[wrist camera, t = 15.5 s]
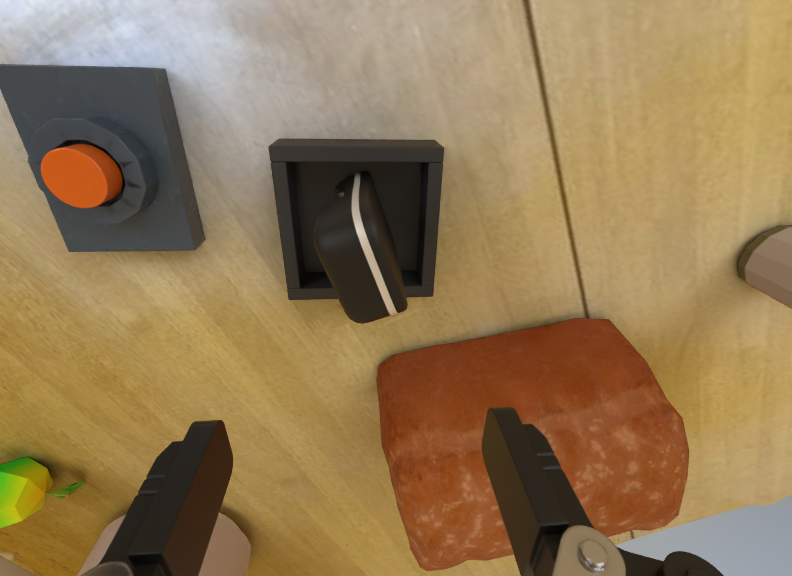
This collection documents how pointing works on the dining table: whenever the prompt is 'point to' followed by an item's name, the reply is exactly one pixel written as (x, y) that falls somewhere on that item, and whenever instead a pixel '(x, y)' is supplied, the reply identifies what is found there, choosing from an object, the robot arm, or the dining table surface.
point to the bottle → (770, 264)
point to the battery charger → (360, 251)
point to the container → (221, 560)
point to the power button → (81, 175)
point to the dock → (397, 190)
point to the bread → (535, 404)
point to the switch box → (110, 151)
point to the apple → (25, 490)
